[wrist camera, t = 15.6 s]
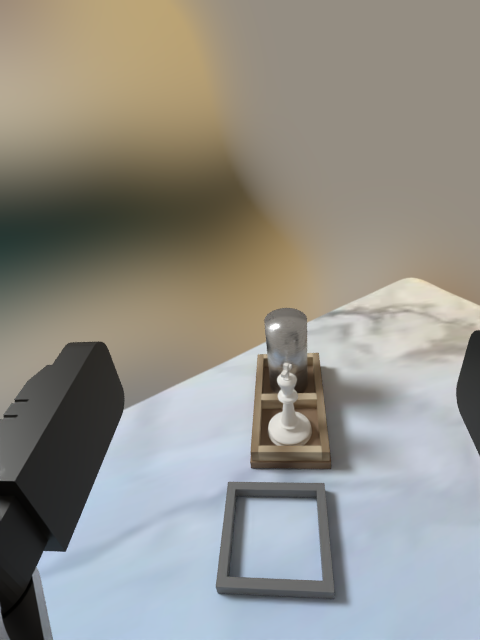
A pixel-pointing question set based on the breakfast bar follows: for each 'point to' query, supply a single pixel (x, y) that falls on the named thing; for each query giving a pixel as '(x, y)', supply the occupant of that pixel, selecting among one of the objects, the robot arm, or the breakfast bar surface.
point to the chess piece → (289, 415)
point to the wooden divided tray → (307, 404)
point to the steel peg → (287, 346)
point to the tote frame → (264, 584)
